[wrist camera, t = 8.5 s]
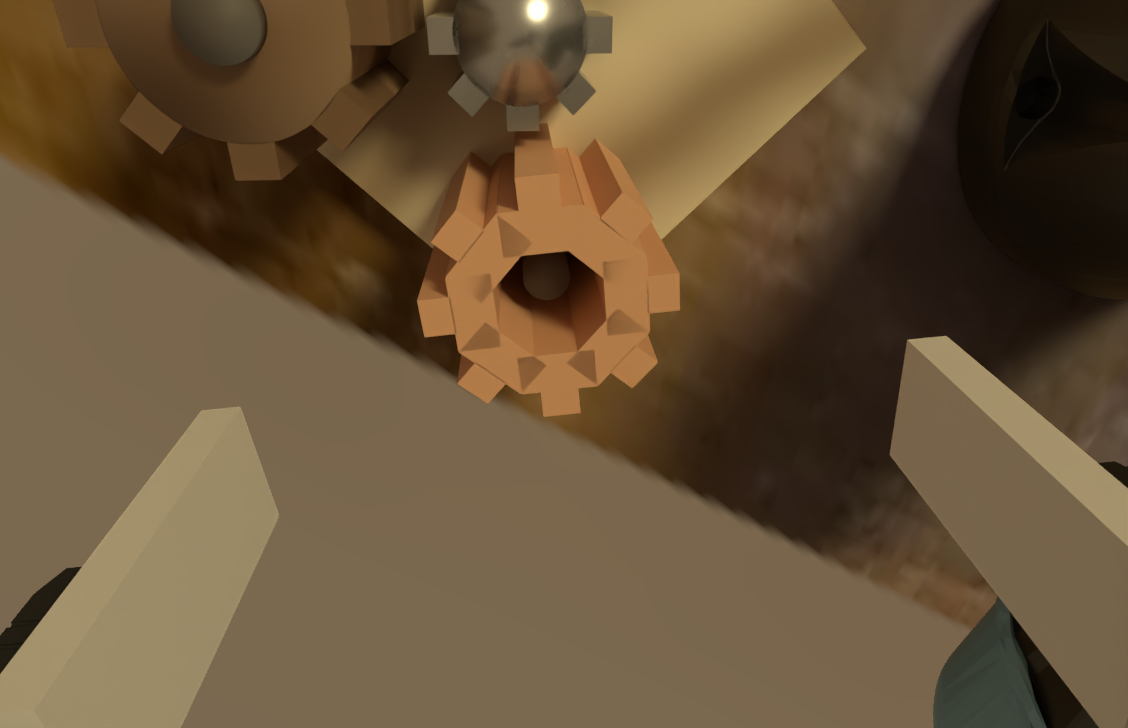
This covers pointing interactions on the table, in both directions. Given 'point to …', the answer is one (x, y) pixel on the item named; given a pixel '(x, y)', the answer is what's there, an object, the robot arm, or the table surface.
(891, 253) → the table surface
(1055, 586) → the robot arm
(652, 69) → the carrier
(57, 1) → the pinned planet gear
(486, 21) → the sun gear
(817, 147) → the table surface
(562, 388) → the planet gear
